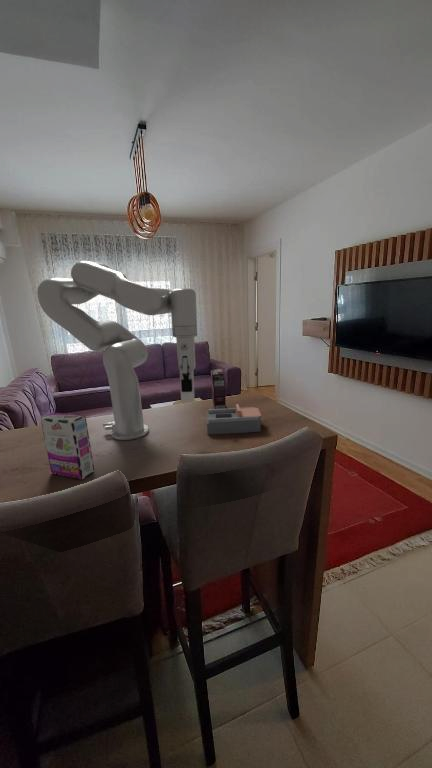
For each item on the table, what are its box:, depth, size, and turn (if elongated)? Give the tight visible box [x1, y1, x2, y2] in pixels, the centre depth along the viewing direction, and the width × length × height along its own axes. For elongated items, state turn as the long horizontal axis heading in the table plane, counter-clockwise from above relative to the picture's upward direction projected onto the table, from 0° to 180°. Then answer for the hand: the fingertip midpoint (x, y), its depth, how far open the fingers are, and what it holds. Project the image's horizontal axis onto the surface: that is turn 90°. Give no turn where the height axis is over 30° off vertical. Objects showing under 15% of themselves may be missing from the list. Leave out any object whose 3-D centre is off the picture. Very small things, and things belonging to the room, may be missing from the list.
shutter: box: [235, 403, 262, 420], centre depth 111 cm, size 8×8×3 cm
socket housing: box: [206, 406, 262, 435], centre depth 112 cm, size 18×11×5 cm, turn 92°
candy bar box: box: [40, 412, 95, 480], centre depth 85 cm, size 11×5×16 cm, turn 69°
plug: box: [179, 361, 195, 404], centre depth 100 cm, size 4×4×13 cm
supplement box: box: [210, 368, 227, 409], centre depth 129 cm, size 9×5×16 cm, turn 6°
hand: (187, 388), depth 100 cm, fingers closed on plug, 4 cm apart
